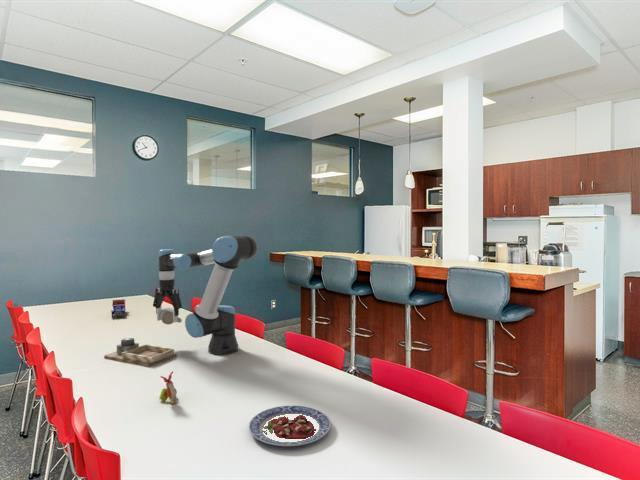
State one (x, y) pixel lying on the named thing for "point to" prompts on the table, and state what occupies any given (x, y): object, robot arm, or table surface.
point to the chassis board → (141, 354)
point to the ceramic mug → (168, 316)
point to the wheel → (127, 341)
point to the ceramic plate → (289, 425)
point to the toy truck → (118, 307)
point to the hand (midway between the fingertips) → (167, 321)
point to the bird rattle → (168, 390)
